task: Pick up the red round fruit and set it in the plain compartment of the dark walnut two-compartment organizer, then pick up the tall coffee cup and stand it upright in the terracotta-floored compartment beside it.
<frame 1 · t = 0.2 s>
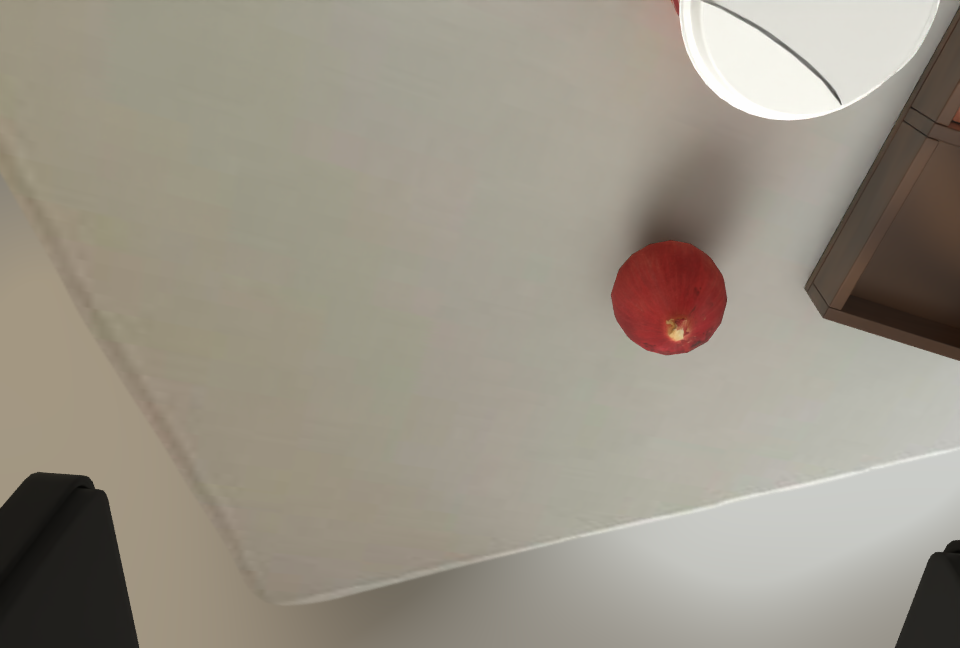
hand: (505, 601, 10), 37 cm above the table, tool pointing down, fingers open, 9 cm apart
red round fruit: (659, 266, 47), on the table
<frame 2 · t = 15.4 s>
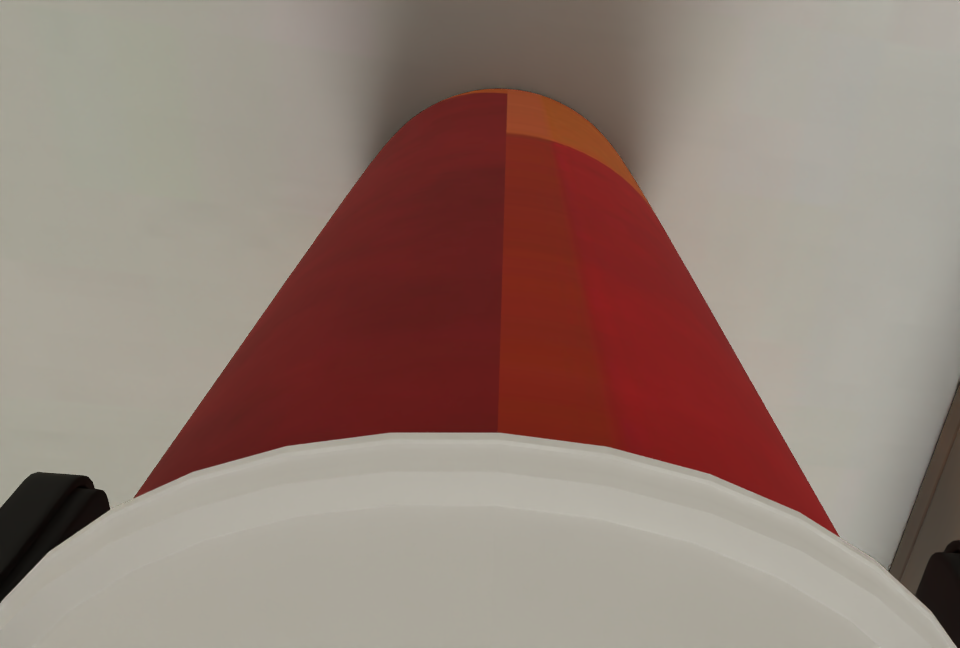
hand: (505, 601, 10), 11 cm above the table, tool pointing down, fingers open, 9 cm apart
coffee cup: (501, 218, 19), on the table
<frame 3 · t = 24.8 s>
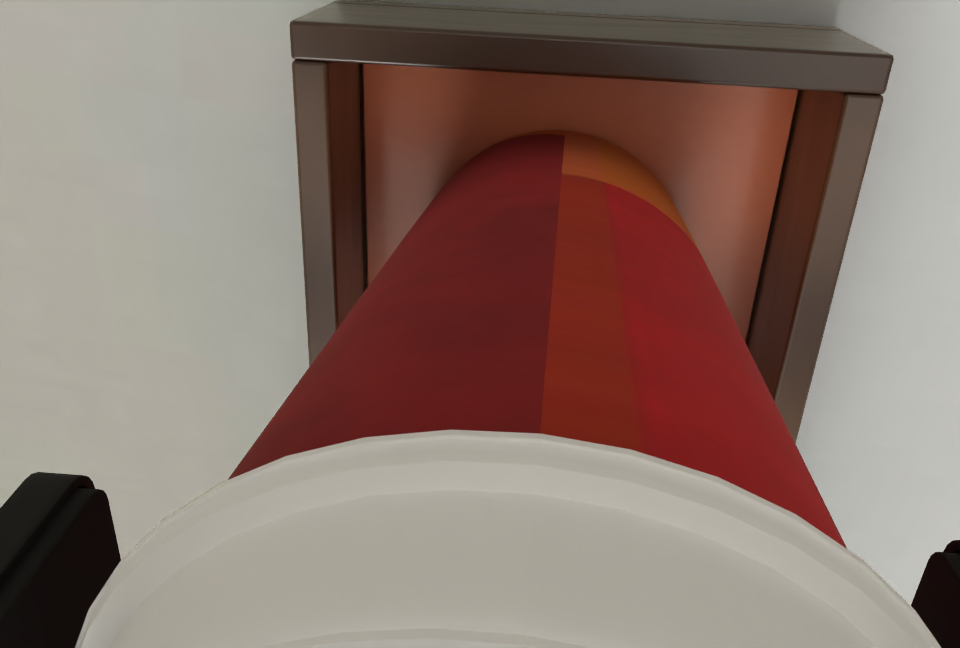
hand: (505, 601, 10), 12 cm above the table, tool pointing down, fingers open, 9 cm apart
coffee cup: (555, 251, 20), point 1 cm above the table, touching organizer
organizer: (545, 418, 23), on the table
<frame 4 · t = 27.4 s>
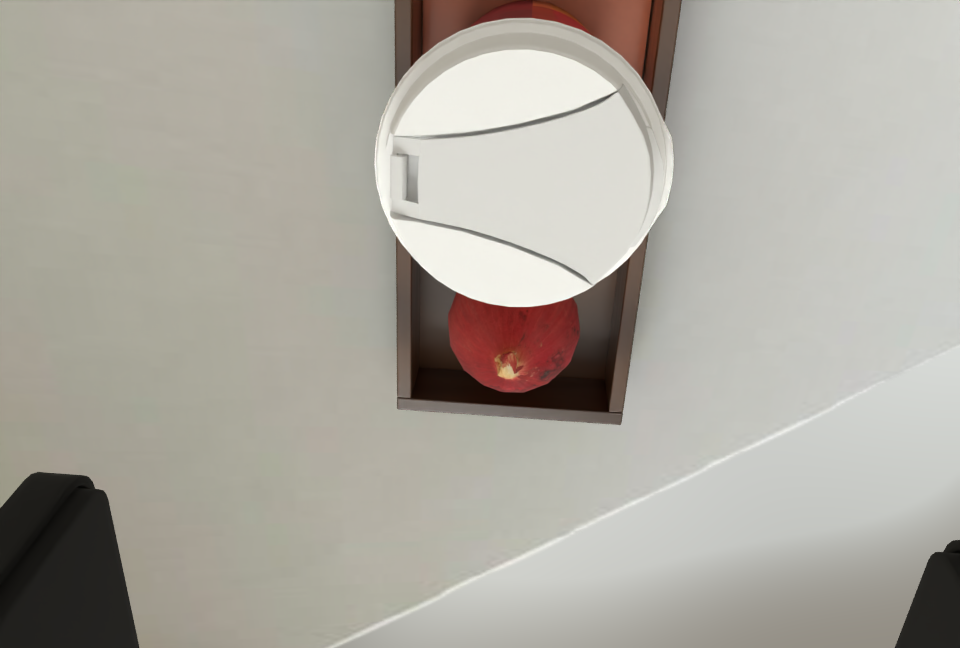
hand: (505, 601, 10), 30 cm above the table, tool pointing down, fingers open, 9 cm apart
coffee cup: (528, 73, 36), point 1 cm above the table, touching organizer
red round fruit: (516, 287, 41), resting on organizer
organizer: (523, 185, 39), on the table
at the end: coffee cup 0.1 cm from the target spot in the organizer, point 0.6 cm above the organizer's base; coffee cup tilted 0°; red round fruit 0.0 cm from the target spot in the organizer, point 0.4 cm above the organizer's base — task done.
